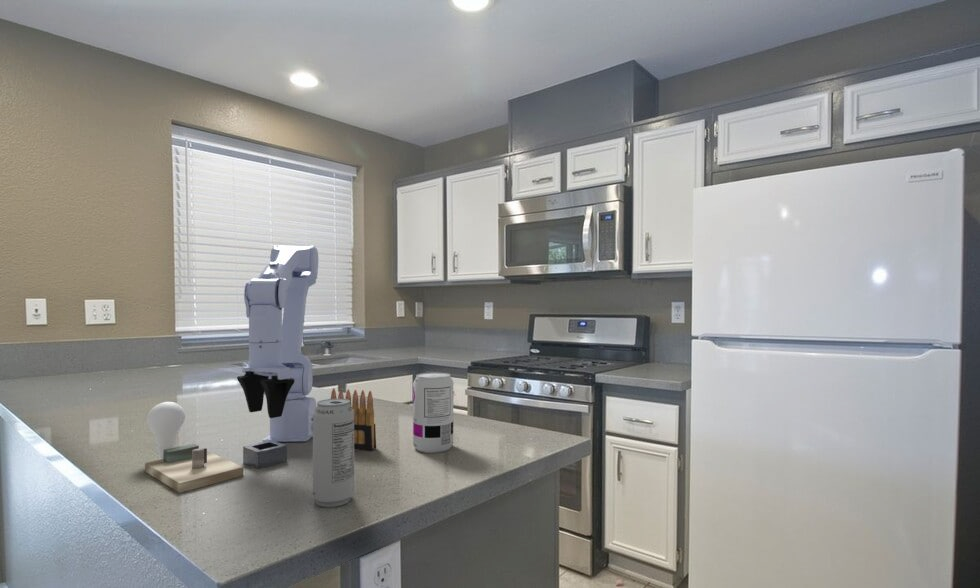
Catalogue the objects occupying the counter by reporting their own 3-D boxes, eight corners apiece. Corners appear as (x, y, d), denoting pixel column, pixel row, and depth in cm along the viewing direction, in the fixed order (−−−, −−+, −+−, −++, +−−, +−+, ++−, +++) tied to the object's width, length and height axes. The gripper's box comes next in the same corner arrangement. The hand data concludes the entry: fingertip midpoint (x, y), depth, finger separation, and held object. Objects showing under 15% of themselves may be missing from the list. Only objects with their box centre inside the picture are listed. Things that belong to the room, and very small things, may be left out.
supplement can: (405, 451, 102) (405, 376, 102) (425, 440, 110) (425, 371, 110) (441, 455, 99) (441, 379, 99) (459, 444, 107) (459, 373, 107)
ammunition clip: (376, 448, 104) (376, 390, 104) (371, 451, 102) (371, 391, 102) (332, 444, 107) (332, 387, 107) (326, 446, 106) (327, 388, 106)
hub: (243, 462, 95) (243, 446, 95) (271, 455, 99) (272, 440, 99) (257, 468, 91) (257, 452, 91) (286, 461, 96) (286, 445, 96)
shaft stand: (144, 471, 90) (144, 445, 90) (204, 457, 98) (204, 434, 98) (179, 492, 80) (179, 464, 80) (243, 475, 88) (243, 449, 88)
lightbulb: (166, 465, 93) (166, 405, 93) (138, 463, 94) (139, 404, 95) (192, 455, 99) (192, 399, 99) (165, 453, 100) (166, 398, 101)
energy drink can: (334, 490, 81) (335, 396, 81) (362, 497, 78) (362, 400, 78) (303, 503, 76) (304, 403, 76) (332, 511, 73) (332, 407, 73)
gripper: (226, 341, 97) (226, 412, 97) (263, 345, 88) (263, 423, 88) (262, 339, 102) (262, 406, 102) (301, 342, 93) (300, 416, 93)
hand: (265, 414), depth 95 cm, fingers open, 7 cm apart
